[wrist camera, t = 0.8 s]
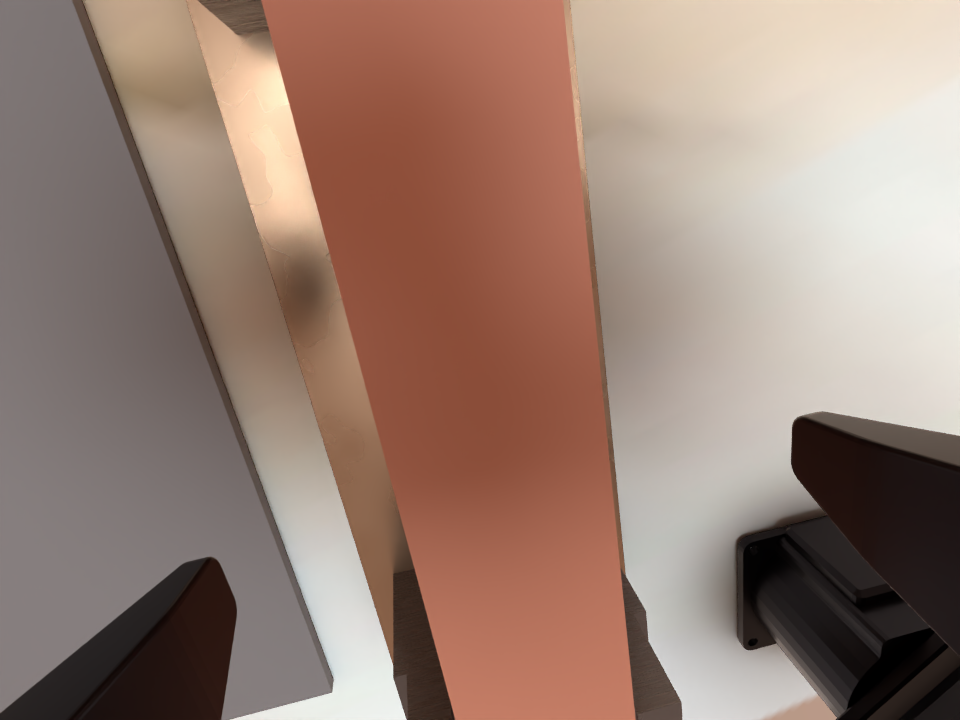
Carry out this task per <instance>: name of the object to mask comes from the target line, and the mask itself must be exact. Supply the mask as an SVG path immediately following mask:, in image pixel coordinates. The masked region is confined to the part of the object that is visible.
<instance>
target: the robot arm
mask: <svg viewBox="0 0 960 720" xmlns="http://www.w3.org/2000/svg"><path fill="white" fill-rule="evenodd" d="M791 465H792V469H793V472H794V474H795V476H796V477H797V479H798V480H799V481H800V482H801V484H802V485H803V486H804V487H805V489H806V490H807V491H808V492H809V494H810V495H811V496H812V497H813V498H814V500H815V501H816V502H817V503H818V505H819V506H820V507H821V508H822V509H823V511H824V512H825V513H826V514H827V516H824V517H820V518H816V519H812V520H808V521H805V522H801V523H797V524H793V525H789V526H785V527H781V528H777V529H773V530H769V531H766V532H762V533H758V534H754V535H750V536H747V537H745V538H743V539H742V540H741V541H740V542H739V544H738V639H739V642H740V643H741V644H742V646H743V647H744V648H745V649H746V650H754V649H758V648H761V647H765V646H768V645H772V644H776V643H777V644H778V646H779V647H780V648H781V649H782V650H783V652H784V653H785V654H786V655H787V657H788V658H789V659H790V660H791V662H792V663H793V664H794V665H795V666H796V668H797V669H798V670H799V671H800V673H801V674H802V675H803V676H804V678H805V679H806V680H807V681H808V682H809V684H810V685H811V686H812V687H813V689H814V690H815V691H816V692H817V694H818V695H819V696H820V697H821V699H822V700H823V701H824V702H825V703H826V705H827V706H828V707H829V708H830V710H831V711H832V712H833V713H834V715H835V716H836V717H837V719H836V720H960V436H957V435H951V434H946V433H940V432H935V431H929V430H923V429H918V428H912V427H907V426H901V425H896V424H890V423H884V422H879V421H873V420H868V419H862V418H857V417H851V416H846V415H840V414H834V413H829V412H815V413H811V414H807V415H803V416H799V417H797V418H796V419H795V420H794V422H793V425H792V448H791ZM236 619H237V604H236V600H235V597H234V595H233V592H232V590H231V588H230V585H229V583H228V581H227V578H226V576H225V574H224V571H223V569H222V567H221V564H220V563H219V561H218V560H217V559H216V558H214V557H211V556H210V557H205V558H201V559H196V560H192V561H188V562H185V563H183V564H182V565H180V566H179V567H178V568H177V569H175V570H174V571H173V572H172V573H171V574H169V575H168V576H167V577H166V578H164V579H163V580H162V581H161V582H160V583H158V584H157V585H156V586H155V587H153V588H152V589H151V590H150V591H149V592H147V593H146V594H145V595H144V596H142V597H141V598H140V599H139V600H138V601H136V602H135V603H134V604H133V605H131V606H130V607H129V608H128V609H127V610H125V611H124V612H123V613H122V614H120V615H119V616H118V617H117V618H116V619H114V620H113V621H112V622H111V623H109V624H108V625H107V626H106V627H104V628H103V629H102V630H101V631H100V632H98V633H97V634H96V635H95V636H93V637H92V638H91V639H90V640H89V641H87V642H86V643H85V644H84V645H82V646H81V647H80V648H79V649H78V650H76V651H75V652H74V653H73V654H71V655H70V656H69V657H68V658H67V659H65V660H64V661H63V662H62V663H60V664H59V665H58V666H57V667H56V668H54V669H53V670H52V671H51V672H49V673H48V674H47V675H46V676H45V677H43V678H42V679H41V680H40V681H38V682H37V683H36V684H35V685H34V686H32V687H31V688H30V689H29V690H27V691H26V692H25V693H24V694H23V695H21V696H20V697H19V698H18V699H16V700H15V701H14V702H13V703H12V704H10V705H9V706H8V707H7V708H5V709H4V710H3V711H2V712H1V713H0V720H221V719H222V714H223V708H224V702H225V695H226V688H227V681H228V674H229V667H230V661H231V654H232V647H233V640H234V633H235V626H236Z"/></svg>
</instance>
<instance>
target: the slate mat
mask: <svg viewBox="0 0 960 720" xmlns="http://www.w3.org/2000/svg"><path fill="white" fill-rule="evenodd" d="M210 556H211V557H214V558H216V559H217V560H218V561H219V563H220V564H221V567H222V569H223V571H224V574H225V576H226V578H227V581H228V583H229V585H230V588H231V590H232V592H233V595H234V597H235V600H236V604H237V619H236V626H235V633H234V640H233V647H232V654H231V661H230V667H229V674H228V681H227V688H226V695H225V702H224V708H223V714H222V719H221V720H230V719H234V718H237V717H241V716H245V715H249V714H253V713H256V712H260V711H264V710H268V709H272V708H275V707H279V706H283V705H287V704H290V703H294V702H298V701H302V700H306V699H309V698H313V697H317V696H321V695H325V694H328V693H332V689H333V677H332V675H331V672H330V669H329V667H328V664H327V661H326V659H325V656H324V653H323V650H322V648H321V645H320V642H319V640H318V637H317V634H316V632H315V629H314V626H313V623H312V621H311V618H310V615H309V613H308V610H307V607H306V605H305V602H304V599H303V596H302V594H301V591H300V588H299V586H298V583H297V580H296V578H295V575H294V572H293V569H292V567H291V564H290V561H289V559H288V556H287V553H286V551H285V548H284V545H283V542H282V540H281V537H280V534H279V532H278V529H277V526H276V524H275V521H274V518H273V515H272V513H271V510H270V507H269V505H268V502H267V499H266V497H265V494H264V491H263V488H262V486H261V483H260V480H259V478H258V475H257V472H256V470H255V467H254V464H253V461H252V459H251V456H250V453H249V451H248V448H247V445H246V443H245V440H244V437H243V434H242V432H241V429H240V426H239V424H238V421H237V418H236V416H235V413H234V410H233V407H232V405H231V402H230V399H229V397H228V394H227V391H226V389H225V386H224V383H223V380H222V378H221V375H220V372H219V370H218V367H217V364H216V362H215V359H214V356H213V353H212V351H211V348H210V345H209V343H208V340H207V337H206V335H205V332H204V329H203V326H202V324H201V321H200V318H199V316H198V313H197V310H196V307H195V305H194V302H193V299H192V297H191V294H190V291H189V289H188V286H187V283H186V280H185V278H184V275H183V272H182V270H181V267H180V264H179V262H178V259H177V256H176V253H175V251H174V248H173V245H172V243H171V240H170V237H169V235H168V232H167V229H166V226H165V224H164V221H163V218H162V216H161V213H160V210H159V208H158V205H157V202H156V199H155V197H154V194H153V191H152V189H151V186H150V183H149V181H148V178H147V175H146V172H145V170H144V167H143V164H142V162H141V159H140V156H139V154H138V151H137V148H136V145H135V143H134V140H133V137H132V135H131V132H130V129H129V127H128V124H127V121H126V118H125V116H124V113H123V110H122V108H121V105H120V102H119V100H118V97H117V94H116V91H115V89H114V86H113V83H112V81H111V78H110V75H109V73H108V70H107V67H106V64H105V62H104V59H103V56H102V54H101V51H100V48H99V46H98V43H97V40H96V37H95V35H94V32H93V29H92V27H91V24H90V21H89V19H88V16H87V13H86V10H85V8H84V5H83V2H82V0H0V713H1V712H2V711H3V710H4V709H5V708H7V707H8V706H9V705H10V704H12V703H13V702H14V701H15V700H16V699H18V698H19V697H20V696H21V695H23V694H24V693H25V692H26V691H27V690H29V689H30V688H31V687H32V686H34V685H35V684H36V683H37V682H38V681H40V680H41V679H42V678H43V677H45V676H46V675H47V674H48V673H49V672H51V671H52V670H53V669H54V668H56V667H57V666H58V665H59V664H60V663H62V662H63V661H64V660H65V659H67V658H68V657H69V656H70V655H71V654H73V653H74V652H75V651H76V650H78V649H79V648H80V647H81V646H82V645H84V644H85V643H86V642H87V641H89V640H90V639H91V638H92V637H93V636H95V635H96V634H97V633H98V632H100V631H101V630H102V629H103V628H104V627H106V626H107V625H108V624H109V623H111V622H112V621H113V620H114V619H116V618H117V617H118V616H119V615H120V614H122V613H123V612H124V611H125V610H127V609H128V608H129V607H130V606H131V605H133V604H134V603H135V602H136V601H138V600H139V599H140V598H141V597H142V596H144V595H145V594H146V593H147V592H149V591H150V590H151V589H152V588H153V587H155V586H156V585H157V584H158V583H160V582H161V581H162V580H163V579H164V578H166V577H167V576H168V575H169V574H171V573H172V572H173V571H174V570H175V569H177V568H178V567H179V566H180V565H182V564H183V563H185V562H188V561H192V560H196V559H201V558H205V557H210Z"/></svg>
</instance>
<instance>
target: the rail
mask: <svg viewBox="0 0 960 720" xmlns="http://www.w3.org/2000/svg"><path fill="white" fill-rule="evenodd" d="M261 2H262V5H263V9H264V13H265V16H266V20H267V24H268V27H269V31H270V35H271V39H272V42H273V46H274V50H275V53H276V57H277V61H278V65H279V68H280V72H281V76H282V79H283V83H284V87H285V90H286V94H287V98H288V102H289V105H290V109H291V113H292V116H293V120H294V124H295V128H296V131H297V135H298V139H299V142H300V146H301V150H302V153H303V157H304V161H305V165H306V168H307V172H308V176H309V179H310V183H311V187H312V191H313V194H314V198H315V202H316V205H317V209H318V213H319V216H320V220H321V224H322V228H323V231H324V235H325V239H326V242H327V246H328V250H329V254H330V257H331V261H332V265H333V268H334V272H335V276H336V279H337V283H338V287H339V291H340V294H341V298H342V302H343V305H344V309H345V313H346V317H347V320H348V324H349V328H350V331H351V335H352V339H353V342H354V346H355V350H356V354H357V357H358V361H359V365H360V368H361V372H362V376H363V380H364V383H365V387H366V391H367V394H368V398H369V402H370V405H371V409H372V413H373V417H374V420H375V424H376V428H377V431H378V435H379V439H380V443H381V446H382V450H383V454H384V457H385V461H386V465H387V468H388V472H389V476H390V480H391V483H392V487H393V491H394V494H395V498H396V502H397V506H398V509H399V513H400V517H401V520H402V524H403V528H404V531H405V535H406V539H407V543H408V546H409V550H410V554H411V557H412V561H413V565H414V569H415V572H416V576H417V580H418V583H419V587H420V591H421V594H422V598H423V602H424V606H425V609H426V613H427V617H428V620H429V624H430V628H431V632H432V635H433V639H434V643H435V646H436V650H437V654H438V657H439V661H440V665H441V669H442V672H443V676H444V680H445V683H446V687H447V691H448V695H449V698H450V702H451V706H452V709H453V713H454V717H455V720H636V719H635V709H634V699H633V689H632V679H631V669H630V659H629V649H628V639H627V629H626V619H625V609H624V600H623V590H622V580H621V570H620V560H619V550H618V540H617V530H616V520H615V510H614V500H613V490H612V480H611V471H610V461H609V451H608V441H607V431H606V421H605V411H604V401H603V391H602V381H601V371H600V361H599V351H598V342H597V332H596V322H595V312H594V302H593V292H592V282H591V272H590V262H589V252H588V242H587V232H586V222H585V212H584V203H583V193H582V183H581V173H580V163H579V153H578V143H577V133H576V123H575V113H574V103H573V93H572V83H571V74H570V64H569V54H568V44H567V34H566V24H565V14H564V4H563V0H261Z"/></svg>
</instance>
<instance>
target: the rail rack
mask: <svg viewBox="0 0 960 720" xmlns="http://www.w3.org/2000/svg"><path fill="white" fill-rule="evenodd" d="M186 2H187V6H188V9H189V12H190V15H191V18H192V22H193V25H194V28H195V31H196V35H197V38H198V41H199V44H200V47H201V51H202V54H203V57H204V60H205V63H206V67H207V70H208V73H209V76H210V79H211V83H212V86H213V89H214V92H215V95H216V99H217V102H218V105H219V108H220V111H221V115H222V118H223V121H224V124H225V127H226V131H227V134H228V137H229V140H230V143H231V147H232V150H233V153H234V156H235V159H236V163H237V166H238V169H239V172H240V176H241V179H242V182H243V185H244V188H245V192H246V195H247V198H248V201H249V204H250V208H251V211H252V214H253V217H254V220H255V224H256V227H257V230H258V233H259V236H260V240H261V243H262V246H263V249H264V252H265V256H266V259H267V262H268V265H269V268H270V272H271V275H272V278H273V281H274V284H275V288H276V291H277V294H278V297H279V301H280V304H281V307H282V310H283V313H284V317H285V320H286V323H287V326H288V329H289V333H290V336H291V339H292V342H293V345H294V349H295V352H296V355H297V358H298V361H299V365H300V368H301V371H302V374H303V377H304V381H305V384H306V387H307V390H308V393H309V397H310V400H311V403H312V406H313V409H314V413H315V416H316V419H317V422H318V426H319V429H320V432H321V435H322V438H323V442H324V445H325V448H326V451H327V454H328V458H329V461H330V464H331V467H332V470H333V474H334V477H335V480H336V483H337V486H338V490H339V493H340V496H341V499H342V502H343V506H344V509H345V512H346V515H347V518H348V522H349V525H350V528H351V531H352V534H353V538H354V541H355V544H356V547H357V551H358V554H359V557H360V560H361V563H362V567H363V570H364V573H365V576H366V579H367V583H368V586H369V589H370V592H371V595H372V599H373V602H374V605H375V608H376V611H377V615H378V618H379V621H380V624H381V627H382V631H383V634H384V637H385V640H386V643H387V647H388V650H389V653H390V656H391V659H392V663H393V678H394V681H395V684H396V687H397V691H398V694H399V697H400V700H401V703H402V706H403V710H404V713H405V716H406V719H407V720H455V717H454V713H453V709H452V706H451V702H450V698H449V695H448V691H447V687H446V683H445V680H444V676H443V672H442V669H441V665H440V661H439V657H438V654H437V650H436V646H435V643H434V639H433V635H432V632H431V628H430V624H429V620H428V617H427V613H426V609H425V606H424V602H423V598H422V594H421V591H420V587H419V583H418V580H417V576H416V572H415V569H414V565H413V561H412V557H411V554H410V550H409V546H408V543H407V539H406V535H405V531H404V528H403V524H402V520H401V517H400V513H399V509H398V506H397V502H396V498H395V494H394V491H393V487H392V483H391V480H390V476H389V472H388V468H387V465H386V461H385V457H384V454H383V450H382V446H381V443H380V439H379V435H378V431H377V428H376V424H375V420H374V417H373V413H372V409H371V405H370V402H369V398H368V394H367V391H366V387H365V383H364V380H363V376H362V372H361V368H360V365H359V361H358V357H357V354H356V350H355V346H354V342H353V339H352V335H351V331H350V328H349V324H348V320H347V317H346V313H345V309H344V305H343V302H342V298H341V294H340V291H339V287H338V283H337V279H336V276H335V272H334V268H333V265H332V261H331V257H330V254H329V250H328V246H327V242H326V239H325V235H324V231H323V228H322V224H321V220H320V216H319V213H318V209H317V205H316V202H315V198H314V194H313V191H312V187H311V183H310V179H309V176H308V172H307V168H306V165H305V161H304V157H303V153H302V150H301V146H300V142H299V139H298V135H297V131H296V128H295V124H294V120H293V116H292V113H291V109H290V105H289V102H288V98H287V94H286V90H285V87H284V83H283V79H282V76H281V72H280V68H279V65H278V61H277V57H276V53H275V50H274V46H273V42H272V39H271V35H270V31H269V27H268V24H267V20H266V16H265V13H264V9H263V5H262V2H261V0H186ZM563 4H564V14H565V24H566V34H567V44H568V54H569V64H570V74H571V83H572V93H573V103H574V113H575V123H576V133H577V143H578V153H579V163H580V173H581V183H582V193H583V203H584V212H585V222H586V232H587V242H588V252H589V262H590V272H591V282H592V292H593V302H594V312H595V322H596V332H597V342H598V351H599V361H600V371H601V381H602V391H603V401H604V411H605V421H606V431H607V441H608V451H609V461H610V471H611V480H612V490H613V500H614V510H615V520H616V530H617V540H618V550H619V560H620V570H621V580H622V590H623V600H624V609H625V619H626V629H627V639H628V649H629V659H630V669H631V679H632V689H633V699H634V709H635V719H636V720H682V705H681V701H680V699H679V697H678V695H677V693H676V691H675V690H674V688H673V686H672V684H671V682H670V680H669V679H668V677H667V675H666V673H665V671H664V669H663V667H662V666H661V664H660V662H659V660H658V658H657V656H656V655H655V653H654V651H653V649H652V647H651V645H650V644H649V642H648V632H647V620H646V611H645V609H644V607H643V605H642V604H641V602H640V600H639V598H638V597H637V595H636V593H635V592H634V590H633V588H632V586H631V585H630V583H629V581H628V579H627V578H626V575H625V565H624V554H623V544H622V534H621V523H620V513H619V503H618V493H617V482H616V472H615V462H614V451H613V441H612V431H611V420H610V410H609V400H608V389H607V379H606V369H605V359H604V348H603V338H602V328H601V317H600V307H599V297H598V286H597V276H596V266H595V256H594V245H593V235H592V225H591V214H590V204H589V194H588V183H587V173H586V163H585V153H584V142H583V132H582V122H581V111H580V101H579V91H578V80H577V70H576V60H575V50H574V39H573V29H572V19H571V8H570V0H563Z"/></svg>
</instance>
